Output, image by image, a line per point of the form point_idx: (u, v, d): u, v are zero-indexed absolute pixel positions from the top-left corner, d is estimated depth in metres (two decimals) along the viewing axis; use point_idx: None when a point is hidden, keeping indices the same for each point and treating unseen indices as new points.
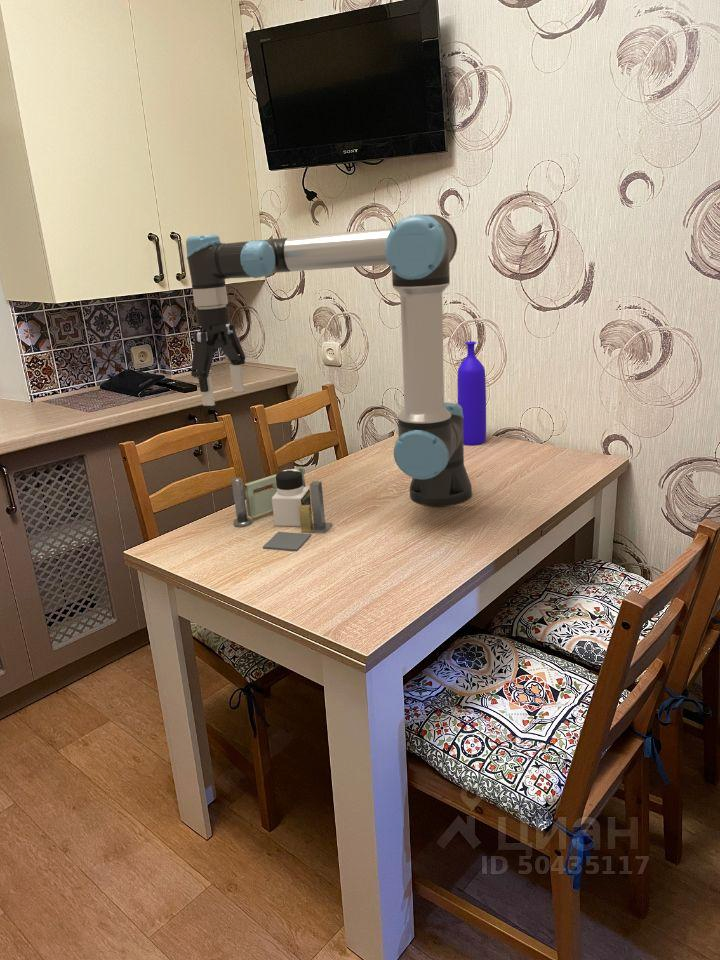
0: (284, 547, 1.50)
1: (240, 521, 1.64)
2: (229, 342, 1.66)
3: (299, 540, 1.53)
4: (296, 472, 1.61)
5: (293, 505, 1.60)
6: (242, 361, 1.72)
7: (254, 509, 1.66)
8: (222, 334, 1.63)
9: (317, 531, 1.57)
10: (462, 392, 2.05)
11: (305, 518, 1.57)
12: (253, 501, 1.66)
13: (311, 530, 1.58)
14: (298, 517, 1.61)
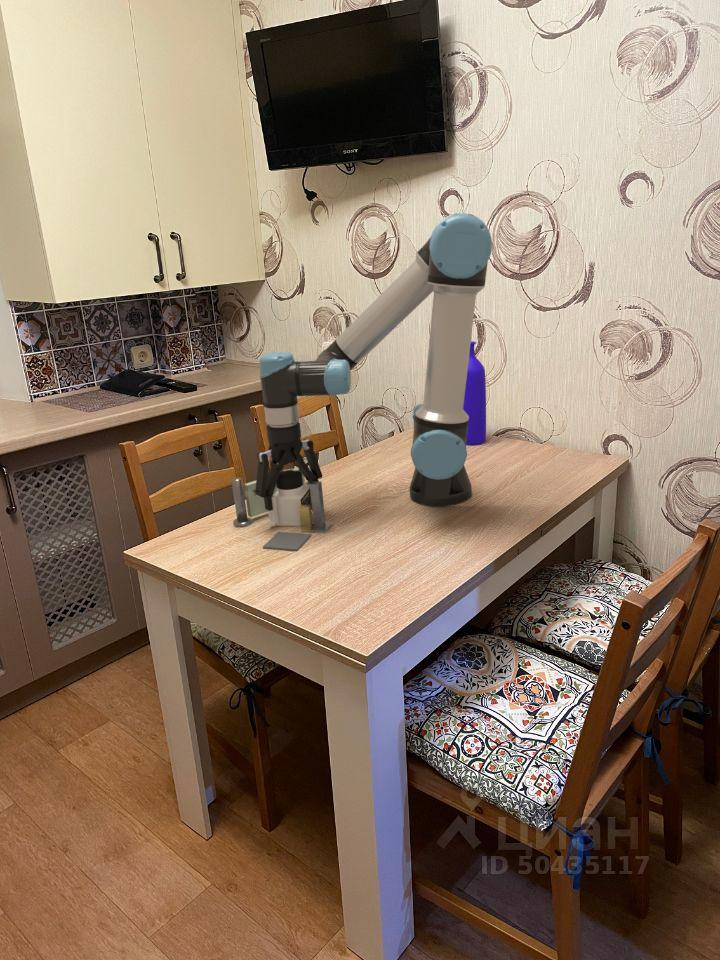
0: (284, 547, 1.50)
1: (240, 521, 1.64)
2: (299, 459, 1.60)
3: (299, 540, 1.53)
4: (296, 472, 1.61)
5: (293, 505, 1.60)
6: (315, 480, 1.65)
7: (254, 509, 1.66)
8: (292, 450, 1.59)
9: (317, 531, 1.57)
10: None
11: (305, 518, 1.57)
12: (253, 501, 1.66)
13: (311, 530, 1.58)
14: (298, 517, 1.61)
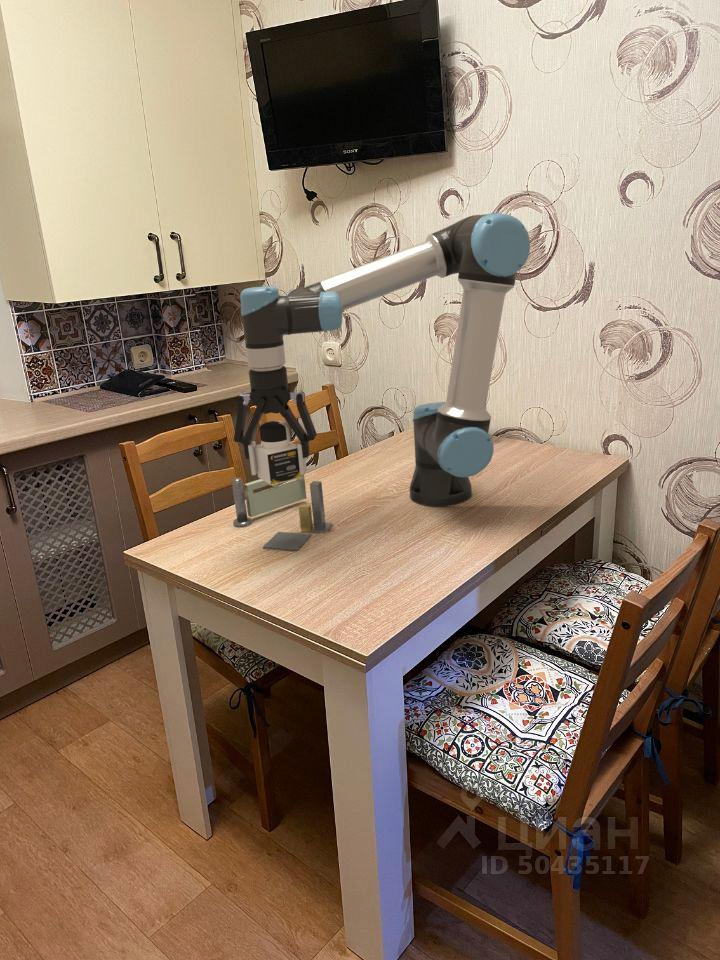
0: (284, 547, 1.50)
1: (240, 521, 1.64)
2: (281, 412, 1.42)
3: (299, 540, 1.53)
4: (277, 425, 1.43)
5: (264, 459, 1.44)
6: (303, 441, 1.44)
7: (254, 509, 1.66)
8: (272, 399, 1.42)
9: (317, 531, 1.57)
10: None
11: (305, 518, 1.57)
12: (253, 501, 1.66)
13: (311, 530, 1.58)
14: (267, 474, 1.45)
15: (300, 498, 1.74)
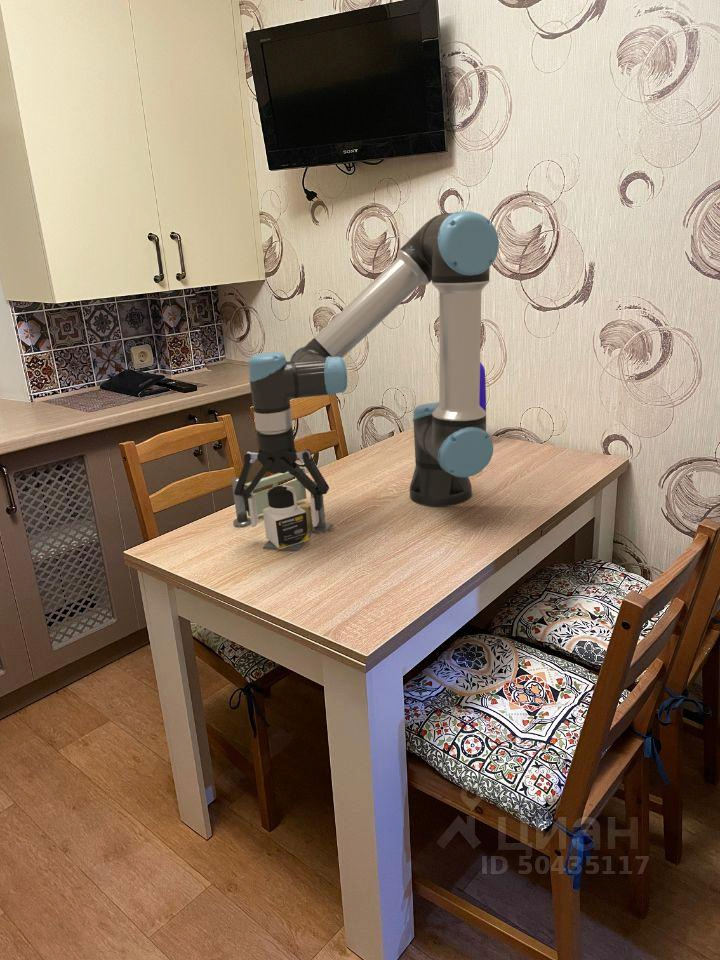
0: None
1: (240, 521, 1.64)
2: (290, 471, 1.46)
3: None
4: (285, 491, 1.48)
5: (272, 524, 1.49)
6: (316, 495, 1.47)
7: None
8: (279, 460, 1.46)
9: (317, 531, 1.57)
10: None
11: None
12: None
13: (311, 530, 1.58)
14: (275, 538, 1.49)
15: (300, 498, 1.74)
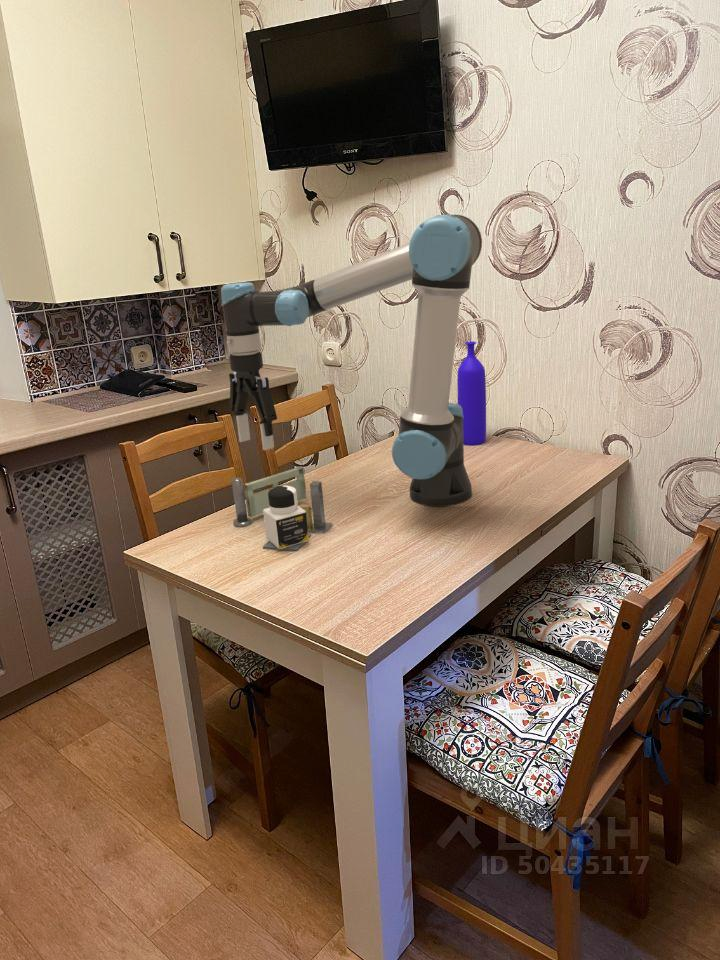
0: None
1: (240, 521, 1.64)
2: None
3: None
4: (285, 491, 1.48)
5: (272, 524, 1.49)
6: (244, 410, 1.74)
7: (254, 509, 1.66)
8: None
9: (317, 531, 1.57)
10: (462, 392, 2.05)
11: None
12: (253, 501, 1.66)
13: (311, 530, 1.58)
14: (275, 538, 1.49)
15: (300, 498, 1.74)
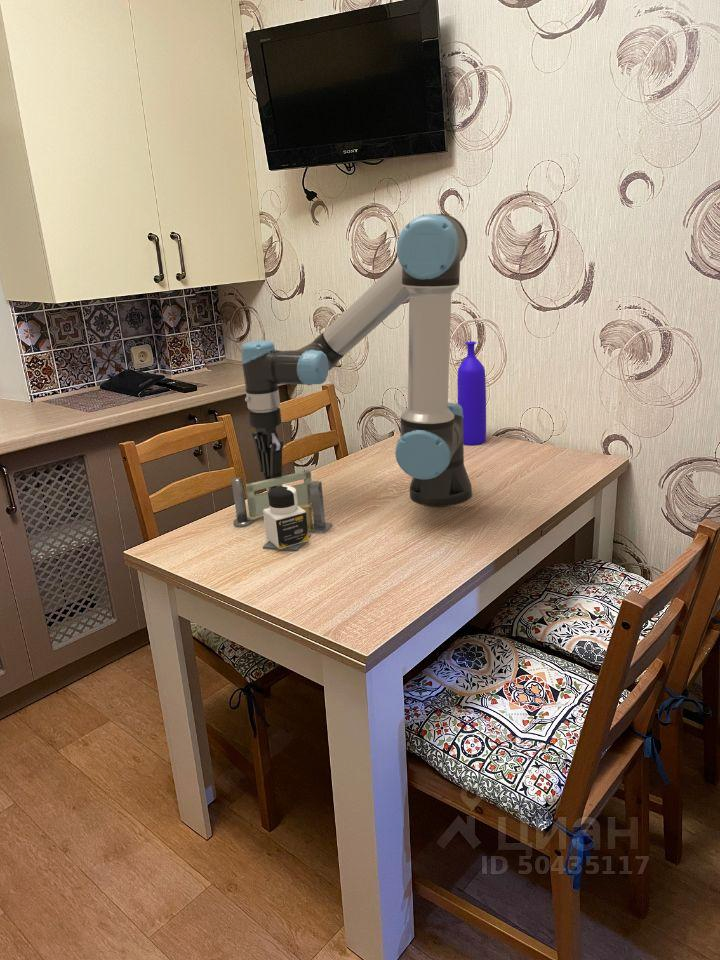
0: None
1: (240, 521, 1.64)
2: None
3: None
4: (285, 491, 1.48)
5: (272, 524, 1.49)
6: None
7: (255, 510, 1.66)
8: None
9: (317, 531, 1.57)
10: (462, 392, 2.05)
11: None
12: (254, 502, 1.65)
13: (311, 530, 1.58)
14: (275, 538, 1.49)
15: (306, 502, 1.71)
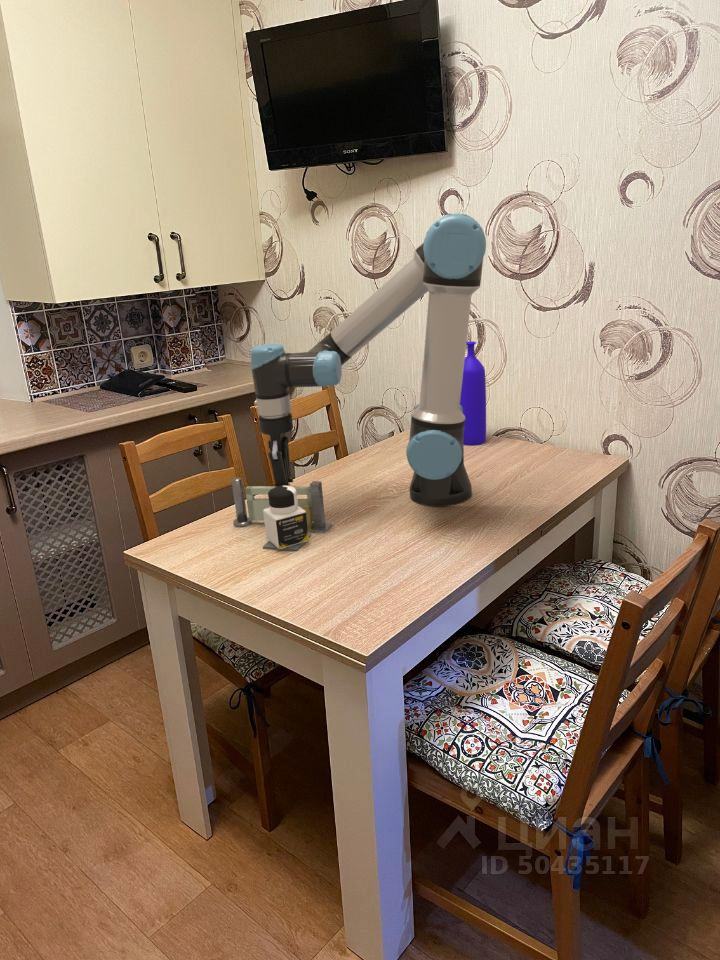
0: None
1: (240, 521, 1.64)
2: (287, 450, 1.63)
3: None
4: (285, 491, 1.48)
5: (272, 524, 1.49)
6: (291, 479, 1.66)
7: (253, 513, 1.64)
8: (285, 437, 1.62)
9: (317, 531, 1.57)
10: (462, 392, 2.05)
11: None
12: (252, 505, 1.63)
13: (311, 530, 1.58)
14: (275, 538, 1.49)
15: None
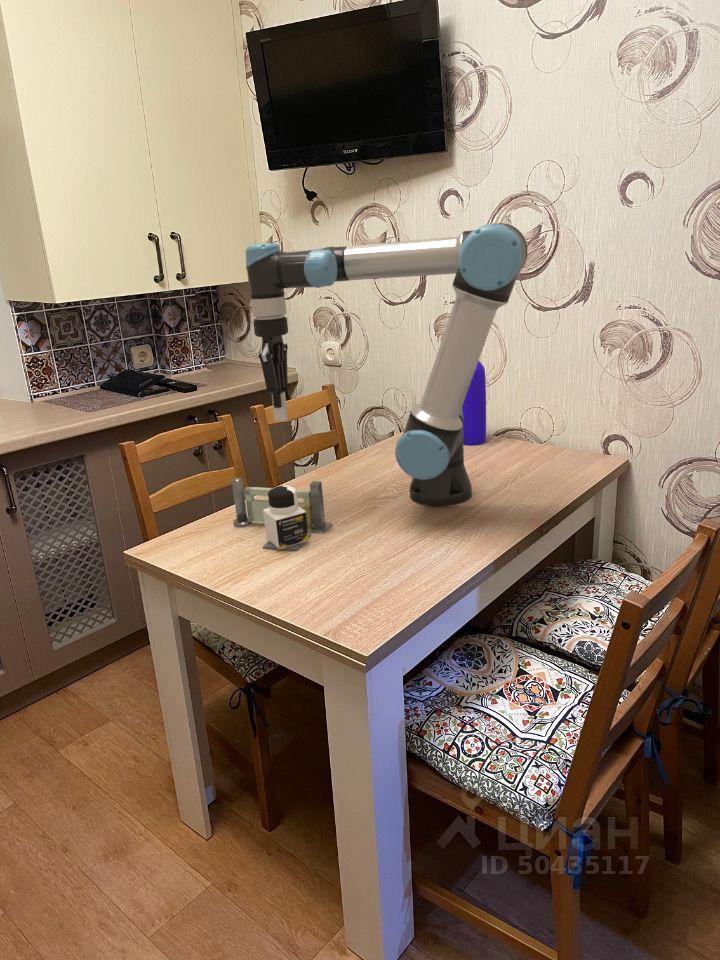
0: None
1: (240, 521, 1.64)
2: (283, 356, 1.60)
3: None
4: (285, 491, 1.48)
5: (272, 524, 1.49)
6: (286, 388, 1.63)
7: (251, 514, 1.63)
8: (280, 343, 1.59)
9: (317, 531, 1.57)
10: None
11: None
12: (250, 506, 1.63)
13: (311, 530, 1.58)
14: (275, 538, 1.49)
15: None
